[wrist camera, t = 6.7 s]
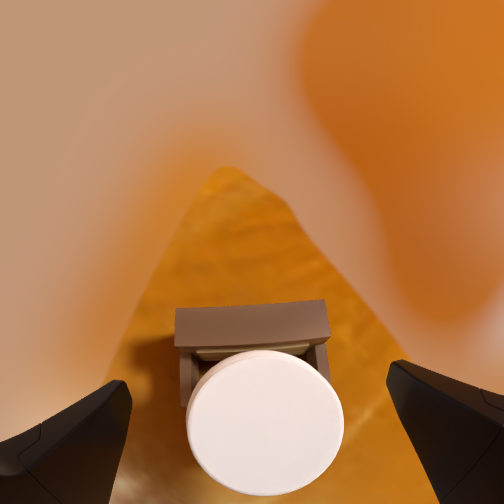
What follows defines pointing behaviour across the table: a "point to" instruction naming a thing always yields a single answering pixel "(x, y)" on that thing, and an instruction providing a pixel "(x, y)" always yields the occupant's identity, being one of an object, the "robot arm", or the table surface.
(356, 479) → the table surface
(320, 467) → the supplement bottle
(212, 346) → the bracket
